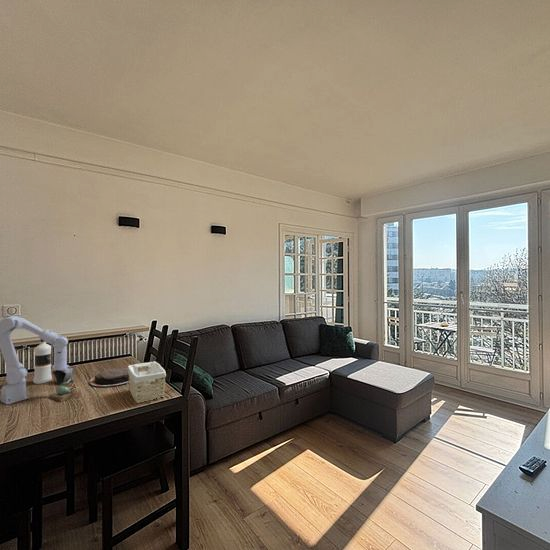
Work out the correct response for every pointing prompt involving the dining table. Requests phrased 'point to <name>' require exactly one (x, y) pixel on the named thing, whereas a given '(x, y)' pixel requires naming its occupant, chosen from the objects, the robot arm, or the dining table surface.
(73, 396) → the cradle
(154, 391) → the storage basket
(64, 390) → the bottle
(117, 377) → the chocolate cake
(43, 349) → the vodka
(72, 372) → the ceramic mug
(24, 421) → the dining table surface
